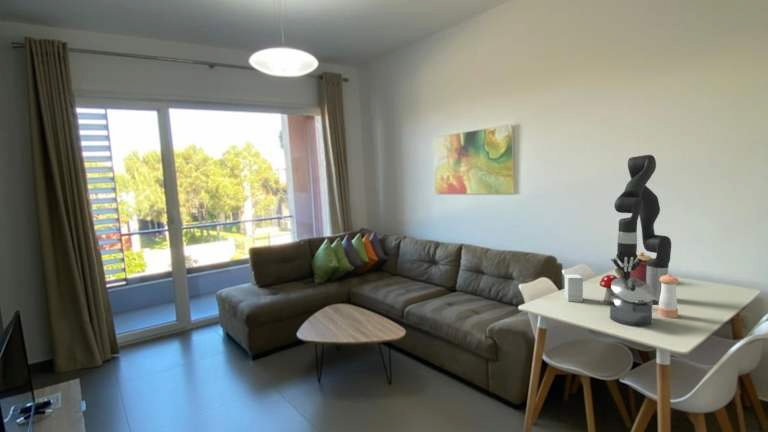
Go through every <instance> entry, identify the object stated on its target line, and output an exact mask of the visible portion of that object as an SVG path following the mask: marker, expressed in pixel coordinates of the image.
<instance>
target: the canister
mask: <svg viewBox="0 0 768 432" xmlns="http://www.w3.org/2000/svg"><path fill="white" fill-rule="evenodd" d="M637 257H638V258H639V259H642V260H643V261H642V262H641V263H640V265H639V266H638V267H637V268H636V269H635V270H632V271H631V272H630V277H631V278H635V279H638V280H641V281H643V282H645V283H646V273H647V260H649V259H654V258H653V257H652V256H650V255H647V254H645V253H644V251H640V252H639V253H638V254H637ZM634 262H635V261H634ZM634 262H633V263H634ZM633 263H632V264H633Z"/></svg>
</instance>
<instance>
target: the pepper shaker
mask: <svg viewBox="0 0 768 432" xmlns="http://www.w3.org/2000/svg"><path fill="white" fill-rule="evenodd" d="M659 280H660V282H661V283H662V284H661V295H660V299H659V301H658V302H659V305H658V308H657V309H658V310H657V313H658V315H659V316H660V317H663V318H668V319H673V318H674V319H676V318H678V315H679V314H678V313H679V312H678V311H679V309H678V308H677V307H678V296H677V284H678V283H679V279H678V277H676V276H674V275H672V274H671V273H668V274H667V275H664V276H661V277H660V279H659Z"/></svg>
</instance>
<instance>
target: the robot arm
mask: <svg viewBox="0 0 768 432" xmlns="http://www.w3.org/2000/svg"><path fill="white" fill-rule="evenodd" d="M656 168H657V161H656V157H655V156H654V155H652V154H644V155H639V156H638V155H637V156H632V157H629V158H628V160H627V169H628V173H629V176H630V180H629V181H628V182H627V183H626V186H625V189H624V190H623V192H622V193H621V194H620V195H619V196H618V197H617V198H616V199H615V202H614V209H615V211H616V212H617V213H618V214H619V213H620V214H631V216H629V217H623V218H620V219H619V220H618V233H617V250H616V252H617V253H616V255H615V257H614V258H611V259H610V260H611V262H612V263H613V264H614V266H615V267H616V268H618V269H620V270H622V277H623V278H624V279H625V280H629V278H630V272H631V271H632V270H635V269H636V268H637V267H638V266H639V265H640V263H641V262H642V261H643V260H642V259H639V258H638V257H637V255H638V254H637V252H638V232H637V231H638V220H639V219H640V220H639V222H640V226H641V227H640V228H641V236H642V237H641V239H642V245H643V248H644V249H645V250H646V252H649V253H654V254H656V255H655V257H654V258H653V259H649V260H647V273H646V283H647V284H648V285H649V286H651V287H652V289H653V290H654V292H655V296H654V299H653V300H656V301H658V302H659V299H660V295H661V284H662V283H661V282H660V280H659V279H660V277H661V276H664V275H667V274H669V264H670V262H671V253H672V240H671V238H670V237H669V236H667V235H662V234H656V233H655V227H654V226H655V223H656V220H657V218H658V217H659V215H660V212H661V207H660V201H659V198H658V196H657V195H656V193H654V191H653V190H651V189H650V188H649V187H648V186H647V183H648V182H649V180H650V179H651V177H652V176H653V175H654V173H655V171H656V170H657V169H656ZM634 261H635V262H634ZM619 262H620V263H619ZM633 262H634V263H633ZM632 263H633V264H632Z"/></svg>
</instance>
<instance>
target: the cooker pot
mask: <svg viewBox="0 0 768 432" xmlns="http://www.w3.org/2000/svg"><path fill="white" fill-rule="evenodd" d="M605 304H606V305H605ZM603 305H605V306H609V305H610V306H609V318H610V320H612V322H614V323H617V324H620V325H623V326H628V327H643V328H644V327H649V326H651V325H652V324H653V306H659V301H656V300H652V301H651V302H649V303H647V304H635V303H631V302H627V301H625V300H623V299H621V298H619V297H618V296H616V295H615V294H612V295H611V296H610V300H604V303H603Z"/></svg>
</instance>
